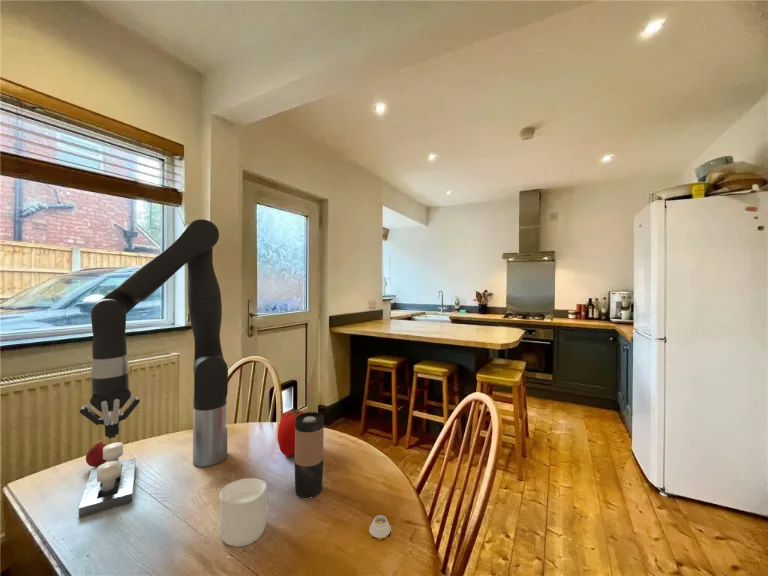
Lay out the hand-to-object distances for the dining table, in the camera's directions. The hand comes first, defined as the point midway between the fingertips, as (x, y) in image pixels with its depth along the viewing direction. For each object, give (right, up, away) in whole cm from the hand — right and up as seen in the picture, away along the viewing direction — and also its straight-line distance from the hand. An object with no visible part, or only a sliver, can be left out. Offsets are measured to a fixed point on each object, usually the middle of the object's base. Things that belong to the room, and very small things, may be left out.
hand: (112, 436), depth 88 cm
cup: (+41, -15, -14) cm, 47 cm away
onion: (-12, -14, +10) cm, 21 cm away
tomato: (+44, -15, +20) cm, 51 cm away
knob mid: (0, -14, 0) cm, 14 cm away
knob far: (-4, -11, +5) cm, 12 cm away
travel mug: (+53, -15, +1) cm, 55 cm away
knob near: (+3, -11, -5) cm, 12 cm away
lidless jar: (+72, -16, -13) cm, 75 cm away
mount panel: (-1, -14, 0) cm, 14 cm away
